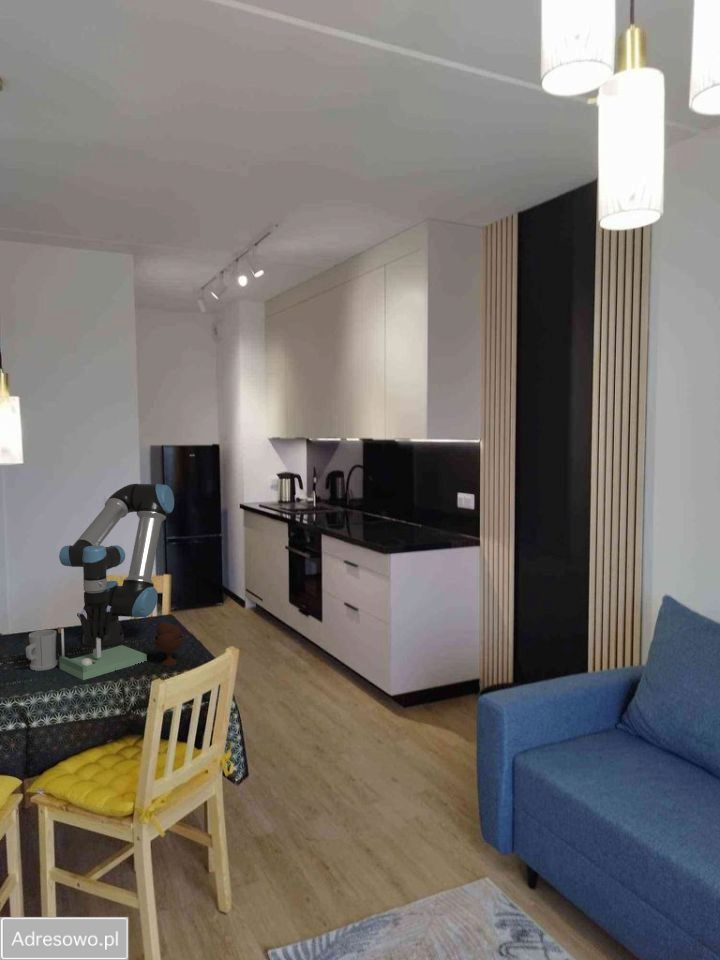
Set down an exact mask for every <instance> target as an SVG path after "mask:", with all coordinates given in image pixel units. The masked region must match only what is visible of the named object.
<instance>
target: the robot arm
mask: <svg viewBox="0 0 720 960" xmlns="http://www.w3.org/2000/svg"><path fill="white" fill-rule="evenodd" d="M174 508H175V497H174V493H173V490H172V488H170V486H169V485H167V484H162V483H161V484H159V483H131V484H128V485H125V486H123V487H121V488H120V489H118V490H116V491H115V492H113V494H111V495H110V496H109V498H107V500H105V503H104V507H103V509H102V510H101V511H100V512H99V513H98V514H97V516H96V517H95V518H94V519H93V520H92V521H91V523H90V524H89V526H87V528H86V529H85V531H83V533H82V534H81V535H80V536H79V538H78V539H77V540H76V541H75V542H74V544H72V545H71V544H70V545H64V546H62V548H60V550H59V555H58V558H59V559H58V560H59V561H60V564H62V566H65V567H72V568H82V573H83V591H84V592H83V604H84V606H83V610H81V612H78V613H76V615H77V617H78V619H79V620H80V624H81V628H82V632H83V636H82V645H84V646H86V647H90V648H91V649H92V653H93V657H96V658H100V657H101V651H102V648H103V647H109V646H110V647H111V646H113V645H117V644H120V643H122V642H123V641H124V637H125V633H124V630H123V628H122V626H121V623H120V621H119V619H120V618H119V617H128V618H134V619H135V618H137V619H138V618H147V617H149V616H150V615H151V614H152V613H153V612H154V610H155V608H156V606H157V604H158V603H157V602H158V598H159V597H158V596H159V595H158V590H157V588H156V587H155V586H154V585H155V584H154V582H153V580H152V574H153V570H154V565H155V558H156V552H157V547H158V543H159V538H160V531H161V526H162V525H161V524H162V522H164V521H165V520H166V519H167V515H168V514H171V513H172V512H173V510H174ZM130 513H136V516H137V517H138V520H139V521H138V524H137V531H136V534H135V535H136V536H135V541H134V545H133V550H132V555H131V561H130V566H129V571H128V576H127V577H125V578H124V579H123V580H122V585H119V583H118V581H116V580H107V570H110V569H113V568H117V567H118V566H120V565H121V564H123V563H124V561H125V560H126V553H125V550H124V548H122V546H120V545H109V546H104V545H101V544H102V543H103V541H104V540H105V539H106V538H107V537H108V535H109V534H110V533H111V531H112V530H113V529H114V528H115V526H116V525H117V523H118V522H119V521H120V520H121V519H123V518H125V517H126V516H127V515H128V514H130Z"/></svg>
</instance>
